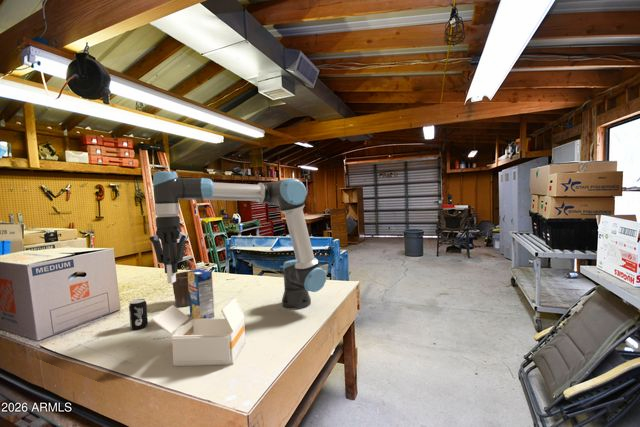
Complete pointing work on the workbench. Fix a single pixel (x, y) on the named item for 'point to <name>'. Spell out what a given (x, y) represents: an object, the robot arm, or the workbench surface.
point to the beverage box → (201, 294)
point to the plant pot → (181, 289)
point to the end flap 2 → (233, 314)
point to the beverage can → (138, 314)
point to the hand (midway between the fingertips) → (171, 282)
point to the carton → (207, 343)
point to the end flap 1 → (170, 319)
